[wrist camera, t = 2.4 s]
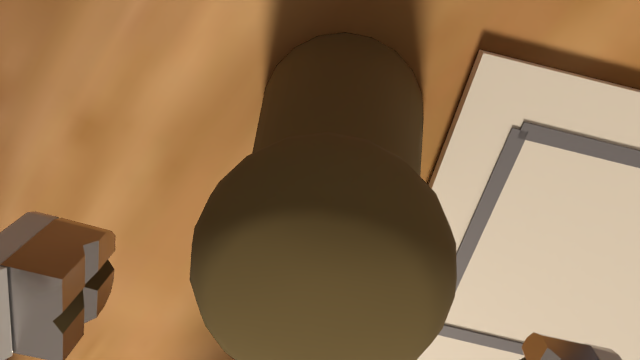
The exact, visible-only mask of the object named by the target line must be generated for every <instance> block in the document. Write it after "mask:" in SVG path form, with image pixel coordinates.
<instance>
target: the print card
mask: <svg viewBox="0 0 640 360" xmlns="http://www.w3.org/2000/svg"><path fill="white" fill-rule="evenodd" d="M429 187H430V188H431V189H432V190H433V191H434V192H435V193H436V195H437V197H438V199H439V202H440V204H441V206H442V209H443V211H444V213H445V216H446V218H447V220H448V222H449V225H450V227H451V230H452V233H453V236H454V239H455V242H456V263H457V282H456V291H455V298H454V300H453V303H452V306H451V308H450V311H449V313H448V316H447V318H446V321H445V324H444V326H443V329H442V330H441V331H440V333H439V334H438V335H437V337H436V338H435V339H434V341H433V342H432V343H431V344H430V346H429V347H428V348H427V349H426V350H425V351H424V352H423V353H422V354H421V356H420V357H419V358H418V359H417V360H520V359H522V358H524V354H523V351H522V348H521V347H522V345H523V343H524V342H525V340H526V338H527V337H528V336H529V335H531V334H532V333H533V332H535V333H539V334H543V335H547V336H552V337H556V338H560V339H565V340H569V341H573V342H577V343H582V344H585V343H586V344H591V345H595V346H600V347H605V348H610V349H612V350H613V351H615V352H616V353H617V354H619V356H620V357H621V359H622V360H640V90H638V89H634V88H630V87H626V86H622V85H618V84H614V83H610V82H606V81H602V80H599V79H595V78H591V77H587V76H583V75H579V74H575V73H571V72H567V71H563V70H559V69H555V68H551V67H547V66H543V65H539V64H535V63H531V62H527V61H523V60H519V59H515V58H511V57H507V56H503V55H499V54H495V53H491V52H487V51H483V50H479V52H478V55H477V57H476V60H475V63H474V65H473V68H472V71H471V73H470V76H469V79H468V81H467V84H466V87H465V89H464V92H463V95H462V97H461V100H460V103H459V105H458V108H457V111H456V113H455V116H454V119H453V121H452V124H451V127H450V129H449V132H448V135H447V137H446V140H445V143H444V145H443V148H442V151H441V153H440V156H439V159H438V161H437V164H436V166H435V169H434V172H433V174H432V177H431V180H430V182H429Z"/></svg>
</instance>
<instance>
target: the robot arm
mask: <svg viewBox="0 0 640 360" xmlns="http://www.w3.org/2000/svg"><path fill="white" fill-rule="evenodd" d="M114 251H115V234H114V233H113V232H112V231H110V230H106V229H102V228H99V227H95V226H91V225H87V224H83V223H79V222H76V221H72V220H68V219H64V218H59V217H56V216H52V215H48V214H44V213H40V212H36V211H35V212H27V213H26V214H24V215H23V216H22V217H20V218H19V219H18V220H16V221H15V222H14V223H12V224H11V225H10V226H8V227H7V228H6V229H4V230H3V231H2V232H0V360H6V359H7V358H9V357H11V356H12V355H13V353H17V354H22V355H27V356H31V357H36V358H41V359H46V360H65V359H66V358H67V356H68V355H69V354H70V352H71V351H72V350H73V348H74V347H75V346H76V344H77V343H78V342H79V340H80V339H81V338H82V336H83V335H84V323H86V322H88V321H90V320H92V319H94V318H97V316H98V315H99V313H100V312H101V311H102V309H103V308H104V306H105V304H106V302H107V299H108V297H109V295H110V293H111V289H112V285H113V280H114V268H113V267H112V265H111V264H110V262H109V261H108V259H109V257H110V256H111V255H112V254H113V253H114ZM521 348H522V351H523V354H524V358H522V359H520V360H622V359H621V357H620V356H619V354H617V353H616V352H615V351H613V350H612V349H610V348H605V347H600V346H595V345H591V344H586V343H585V344H582V343H577V342H573V341H569V340H565V339H560V338H556V337H552V336H547V335H543V334H539V333H535V332H533V333H532V334H531V335H529V336H528V337H527V338H526V340H525V342H524V343H523V345H522V347H521Z"/></svg>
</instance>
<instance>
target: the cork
mask: <svg viewBox="0 0 640 360" xmlns="http://www.w3.org/2000/svg"><path fill="white" fill-rule="evenodd" d="M422 136H423V100H422V93H421V90H420V88H419V85H418V83H417V80H416V78H415V75H414V73H413V71H412V70H411V68H410V67H409V66H408V65H407V64H406V63H405V62H404V60H403V59H402V58H401V57H400V56H399V55H398V54H397V52H396V51H394V50H393V49H391V48H389V47H387V46H386V45H384V44H382V43H380V42H379V41H377V40H375V39H373V38H371V37H366V36H361V35H355V34H350V33H338V34H330V35H323V36H317V37H315V38H313V39H311V40H309V41H307V42H305V43H303V44H301V45H299V46H297V47H295V48H294V49H293V50H292V51H291V52H290V53H289V54H288V55H287V56H286V57H285V58H284V59H283V60H282V61H281V62H280V63H279V64H278V65H277V66H276V68H275V70H274V72H273V74H272V76H271V78H270V80H269V82H268V84H267V86H266V88H265V93H264V98H263V103H262V108H261V113H260V118H259V123H258V128H257V132H256V137H255V142H254V147H253V152H252V154H250V155H248V156H247V157H246V158H244V159H243V160H242V161H241V162H240V163H239V164H238V165H237V166H236V167H235V168H234V169H233V170H232V171H230V172H229V173H228V174H227V175H226V176H225V177H224V178H223V179H222V180H221V181H220V182H219V183H218V185H217V186H216V188H215V189H214V191H213V192H212V194H211V195H210V197H209V199H208V201H207V203H206V205H205V207H204V209H203V212H202V214H201V216H200V218H199V220H198V222H197V224H196V226H195V228H194V235H193V242H192V252H191V268H190V282H191V285H192V288H193V291H194V295H195V298H196V301H197V304H198V307H199V310H200V313H201V316H202V318H203V321H204V323H205V326H206V327H207V329H208V330H209V331H210V333H211V334H212V335H213V337H214V338H215V340H216V341H217V342H218V344H219V345H220V346H221V348H222V349H223V350H224V352H226V353H227V354H228V355H230V356H231V357H232V358H233V359H235V360H417V359H418V358H419V357H420V356H421V354H422V353H423V352H424V351H425V350H426V349H427V348H428V347H429V346H430V344H431V343H432V342H433V341H434V339H435V338H436V337H437V335H438V334H439V333H440V331H441V330H442V329H443V326H444V324H445V321H446V318H447V316H448V313H449V311H450V308H451V306H452V303H453V300H454V298H455V291H456V282H457V263H456V242H455V239H454V236H453V233H452V230H451V227H450V225H449V222H448V220H447V218H446V216H445V213H444V211H443V209H442V206H441V204H440V202H439V199H438V197H437V195H436V193H435V192H434V191H433V190H432V189H431V188H430V187H429V185H428V184H427V183H426V182H425V181H424V180H423V179H422V178H421V177H420V171H421V153H422Z"/></svg>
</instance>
